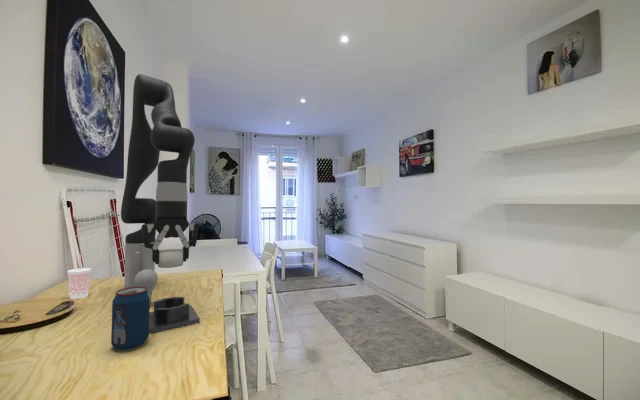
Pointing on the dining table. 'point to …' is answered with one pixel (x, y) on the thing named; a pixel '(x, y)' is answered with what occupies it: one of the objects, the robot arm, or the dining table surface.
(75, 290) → the beverage cup
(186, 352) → the dining table surface
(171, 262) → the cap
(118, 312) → the soda can
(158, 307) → the ball socket plate
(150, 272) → the lightbulb
